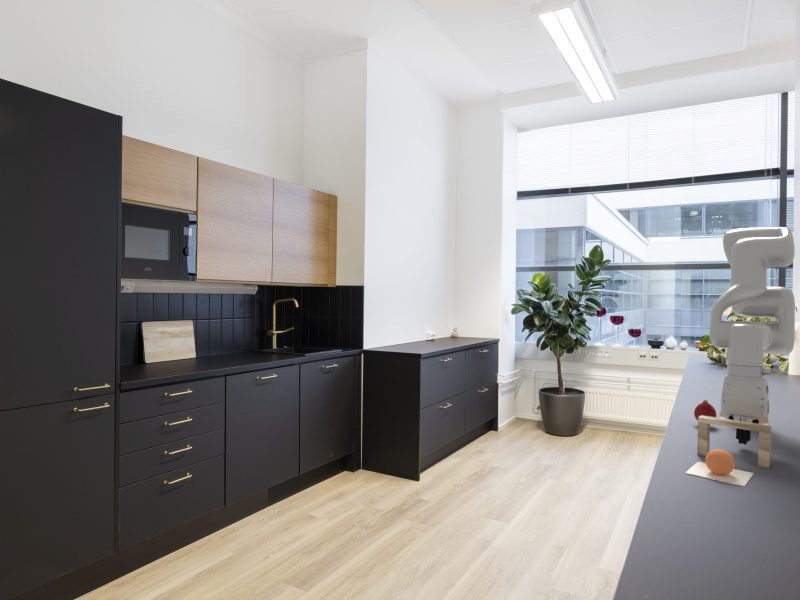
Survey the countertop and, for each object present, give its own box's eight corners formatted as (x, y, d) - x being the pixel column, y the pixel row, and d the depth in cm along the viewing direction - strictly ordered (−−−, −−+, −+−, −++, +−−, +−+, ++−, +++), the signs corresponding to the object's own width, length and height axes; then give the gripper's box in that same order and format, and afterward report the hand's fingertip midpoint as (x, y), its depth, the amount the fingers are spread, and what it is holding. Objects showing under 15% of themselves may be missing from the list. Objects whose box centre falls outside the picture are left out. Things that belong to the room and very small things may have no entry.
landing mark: (697, 462, 124) (697, 461, 124) (753, 473, 117) (753, 473, 117) (685, 473, 116) (685, 472, 116) (744, 486, 109) (744, 485, 109)
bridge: (700, 451, 133) (701, 415, 133) (770, 465, 123) (771, 425, 123) (697, 454, 131) (698, 417, 130) (768, 468, 121) (769, 428, 121)
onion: (719, 429, 157) (719, 402, 157) (697, 427, 158) (698, 400, 158) (711, 424, 162) (712, 398, 162) (691, 423, 163) (691, 397, 163)
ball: (702, 473, 116) (707, 469, 120) (731, 480, 112) (736, 475, 116) (703, 448, 116) (709, 445, 120) (732, 453, 112) (737, 450, 116)
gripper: (783, 373, 134) (780, 446, 134) (715, 367, 144) (713, 434, 144) (778, 376, 128) (776, 452, 129) (708, 369, 138) (706, 440, 139)
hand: (743, 442), depth 136 cm, fingers closed
